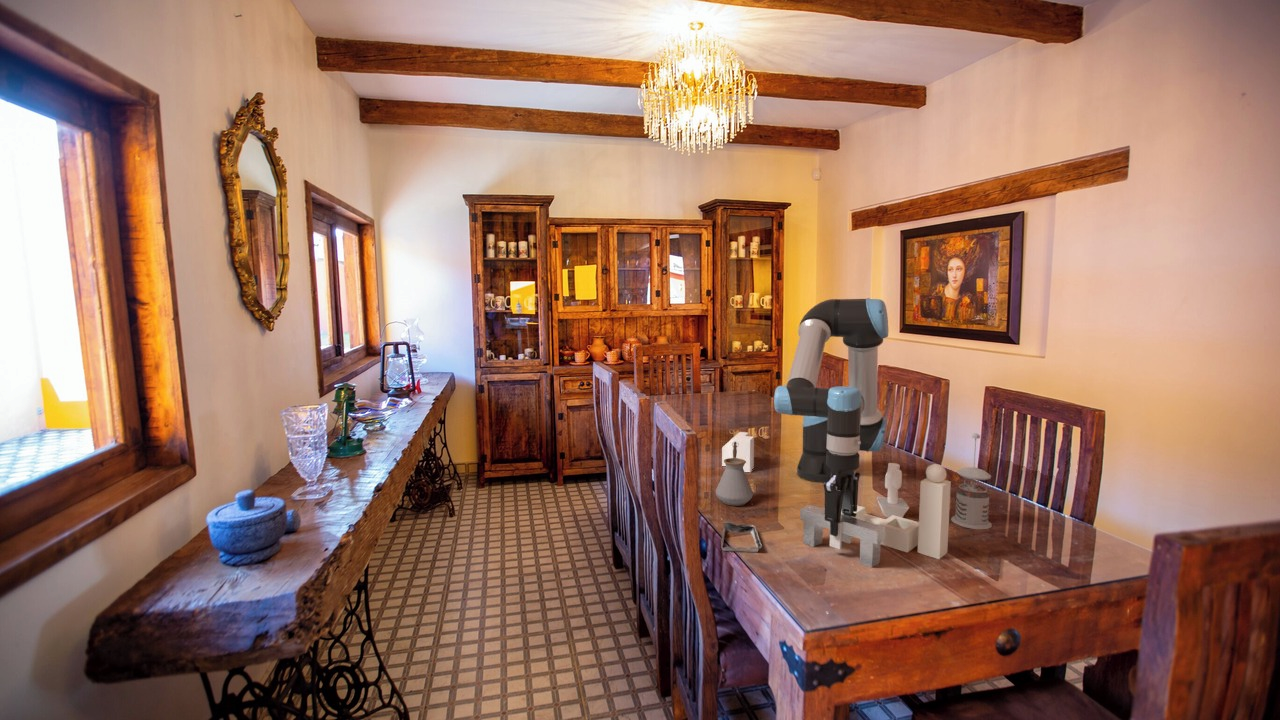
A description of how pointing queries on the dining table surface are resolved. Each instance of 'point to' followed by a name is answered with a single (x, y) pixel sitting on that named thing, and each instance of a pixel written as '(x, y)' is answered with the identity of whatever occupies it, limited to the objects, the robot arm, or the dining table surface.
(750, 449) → the corner bracket
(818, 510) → the grey bench
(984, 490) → the french press
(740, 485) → the grey vase
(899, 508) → the figurine
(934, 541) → the headboard post
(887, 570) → the dining table surface
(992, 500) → the dining table surface
